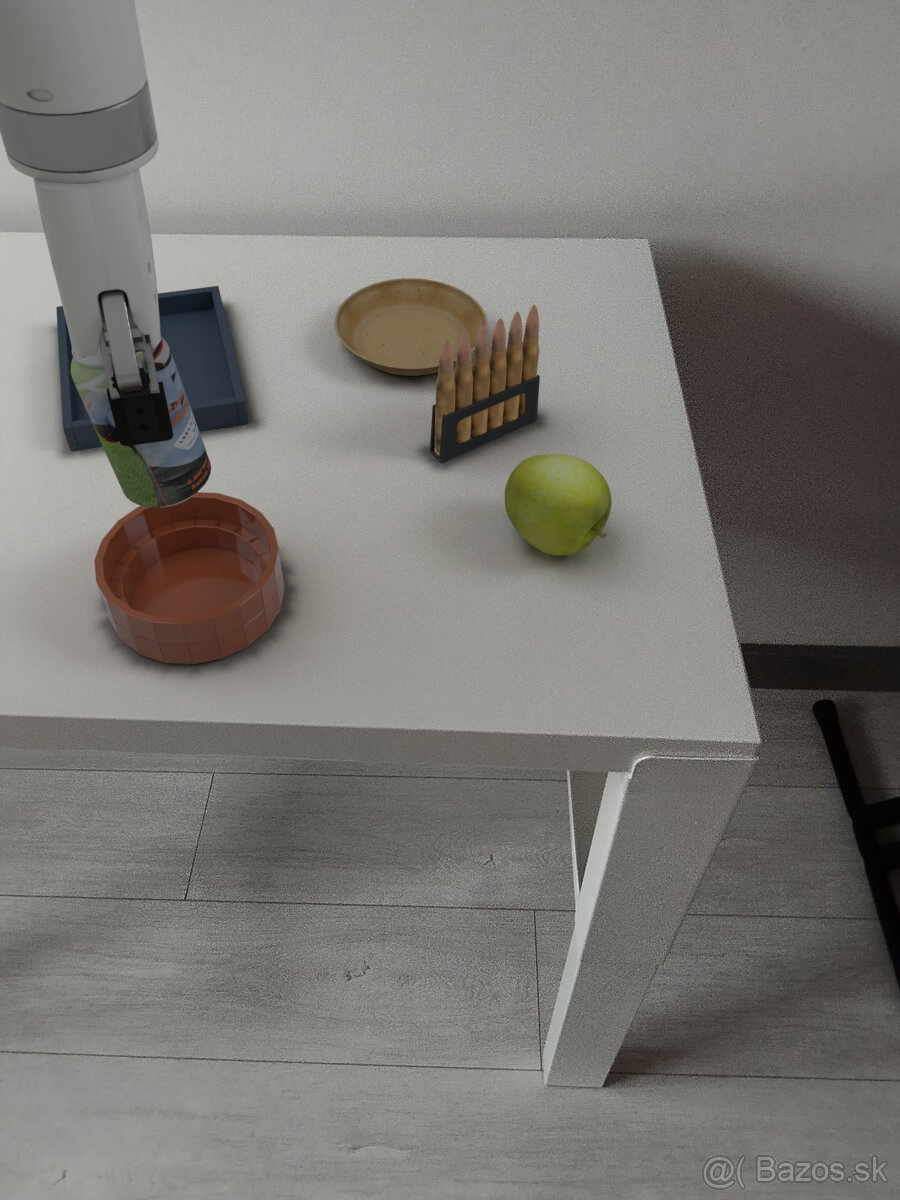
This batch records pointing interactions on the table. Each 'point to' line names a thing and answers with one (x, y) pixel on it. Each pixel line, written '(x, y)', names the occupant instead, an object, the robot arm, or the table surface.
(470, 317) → the plant saucer
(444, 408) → the ammunition clip
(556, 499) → the apple
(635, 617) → the table surface
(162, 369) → the beverage can
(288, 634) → the table surface
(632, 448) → the table surface
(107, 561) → the bowl
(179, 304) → the tray
